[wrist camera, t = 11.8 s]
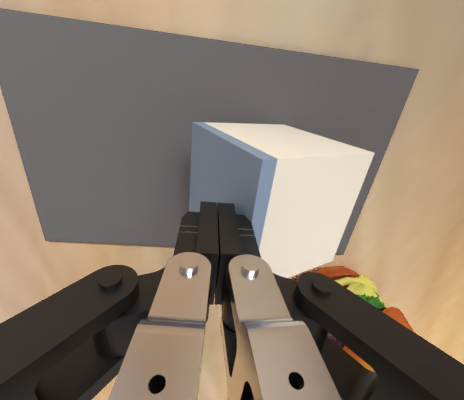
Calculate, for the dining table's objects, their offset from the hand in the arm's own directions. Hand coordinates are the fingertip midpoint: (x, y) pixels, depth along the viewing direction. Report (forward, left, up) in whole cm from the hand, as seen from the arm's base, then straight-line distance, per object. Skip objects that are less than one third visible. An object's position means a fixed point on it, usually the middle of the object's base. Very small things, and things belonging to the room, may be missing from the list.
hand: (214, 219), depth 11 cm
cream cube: (0, 0, -2) cm, 2 cm away
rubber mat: (0, 0, -9) cm, 9 cm away
